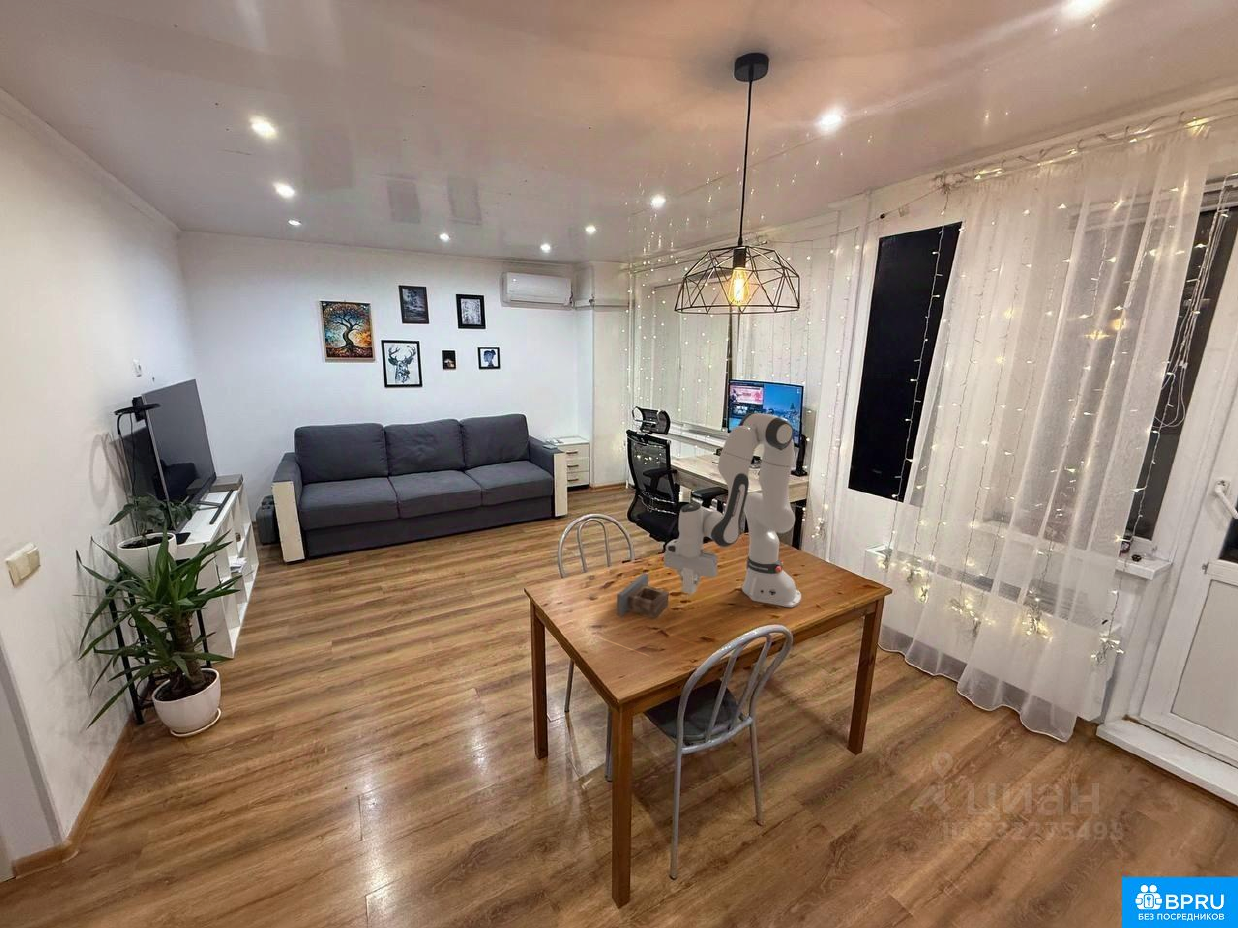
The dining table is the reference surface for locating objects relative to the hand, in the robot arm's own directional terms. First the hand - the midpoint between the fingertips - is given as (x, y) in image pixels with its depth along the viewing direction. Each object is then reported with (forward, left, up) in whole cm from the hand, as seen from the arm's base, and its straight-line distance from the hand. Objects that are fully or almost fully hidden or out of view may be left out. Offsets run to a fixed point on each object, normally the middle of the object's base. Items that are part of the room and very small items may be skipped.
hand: (689, 582), depth 183 cm
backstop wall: (+18, +10, -10) cm, 23 cm away
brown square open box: (+12, +10, -10) cm, 18 cm away
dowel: (0, 0, -4) cm, 4 cm away
